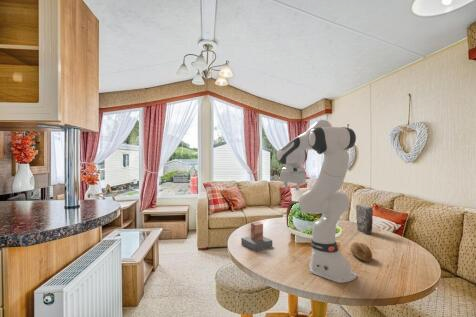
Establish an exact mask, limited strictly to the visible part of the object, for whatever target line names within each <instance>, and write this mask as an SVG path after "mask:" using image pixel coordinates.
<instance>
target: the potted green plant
mask: <svg viewBox="0 0 476 317" xmlns="http://www.w3.org/2000/svg"><path fill="white" fill-rule="evenodd" d="M298 201H299V200H298ZM298 201H296V200H289V203H288V207H287V208H286V214H285V215H286V218H285V219H286V220H285V221H286V225H287V227H289V226H288V215H289V213H290V210H291V208H292V206H293V205H294V204H296V203H298Z"/></svg>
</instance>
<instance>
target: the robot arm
mask: <svg viewBox="0 0 476 317" xmlns="http://www.w3.org/2000/svg"><path fill="white" fill-rule="evenodd" d="M356 139H357V136H356V133H355V131H354V130H353V129H352V128H349V127H347V126H346V127H345V126H343V127H339V126H332V123H331V122H329V121H327V120H326V119H319V120H317V121H316V122H314V123H313V124H312V125H311V126H309V128H308V129H306V131H304V132H303V133H301V134H300V135H298V136H297V137H294V138H293V139H291V140H290V141H289V142H288V143H287V144H285V146H283V147H281V148H279V149H278V150H277V152H276V161H277V162H278V163H280V165H284V166H285V167H282V168H281V169H280V174H279V181H280V182H281V183H282V182H283V185H284V189H286V190H288V189H289V188H290V186H289V185H288V184H289V183H291V184H292V183H293V184H296V187H295V191H300V188H301V185H302V184H303V185H305V184H306V182H307V181H306V180H307V177H306V173H305V172H306V168H305V167H303V166H301V164H305V162H306V161H307V160H308V151H311V150H314V151H315V152H316V153H317V154H318V155H322V154H323V156H324V157H323V162H322V165H321V168H320V172H319V174H318V178H317V179H316V181H315V183H314V184H313V185H312V186H311V187H310V188H309V189H308V190H306V191H305V192H304V191H303V193H301V194H300V195H299V198H298V203H299V207H300V211H302V212H303V213H306V214H312V215H313V214H314V215H315V214H317V215H318V214H321V216H320V218H319V219H317V220H315V221H314V222H313V224H312V226H311V227H312V228H311V231H312V232H311V233H312V234H311V236H312V237H311V242H310V246H311V255H310V261H309V264H308V268H309V273H311V274H313V275H316V276H319V277H321V278H325V279H327V280H329V281H332V282H335V283H338V284H344V283H348V282H351V281H354V280H355V279H356V278H357V273H356V272H354V271H352V266H351V262H350V261H349V260H348V259H347V258H346V257H345V256H344V255H343V253H342V252H341V251H340V250H339V248H340V247H341V244H338V243H337V241H336V229H337V224H338V221H339V219H340V218H341V217H342V215H343V214H344V213H345V212H346V211H347V210H348V209H349V208H350V199H349V197H348V195H347V194H346V193H345V192H341V191H339V190H340V189H341V188H342V186H343V184H344V180H345V178H346V174H347V172H348V167H349V164H350V163H349V162H350V154H349V152H348V151H347V150H348V149H352V148H353V147H354V146H355V144H356V142H357V140H356ZM307 150H308V151H307Z"/></svg>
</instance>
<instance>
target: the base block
mask: <svg viewBox="0 0 476 317" xmlns="http://www.w3.org/2000/svg"><path fill="white" fill-rule="evenodd" d="M240 240H241V245H242V246H244V247H246V248H247V249H250V250H252V251H253V252H257V251H260V250H264V249H269V248H271V247H273V240H272V239H271V238H268V237H266V236H263V240H259V241H255V240H252V239H251V235H250V236H245V237H241V239H240Z"/></svg>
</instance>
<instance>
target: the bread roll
mask: <svg viewBox="0 0 476 317" xmlns="http://www.w3.org/2000/svg"><path fill="white" fill-rule="evenodd" d="M349 250H350V253H351V254H352V255H354V256H355V257H356V258H357V259H360V260H361V261H364V262H370V261H371V260H372V258H373V252H372V250H371V249H370V247H369V246H368V245H367V244H366V243H362V242H353V243H351V245H350V248H349Z"/></svg>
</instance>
